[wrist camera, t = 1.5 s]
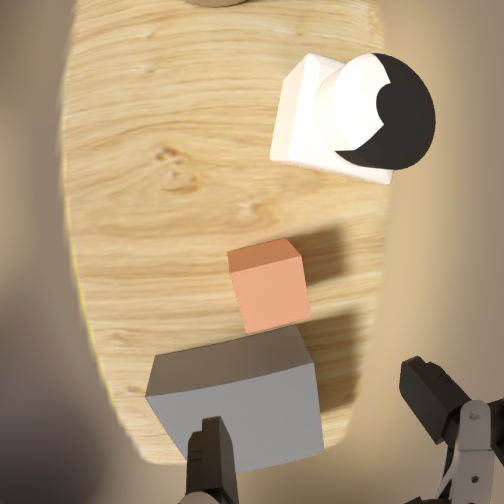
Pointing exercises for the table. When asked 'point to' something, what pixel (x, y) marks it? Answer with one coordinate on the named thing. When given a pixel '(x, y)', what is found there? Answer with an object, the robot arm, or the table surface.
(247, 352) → the slate pedestal
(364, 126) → the medicine bottle
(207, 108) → the table surface
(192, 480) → the robot arm
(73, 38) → the table surface
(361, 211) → the table surface
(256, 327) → the terracotta cube
